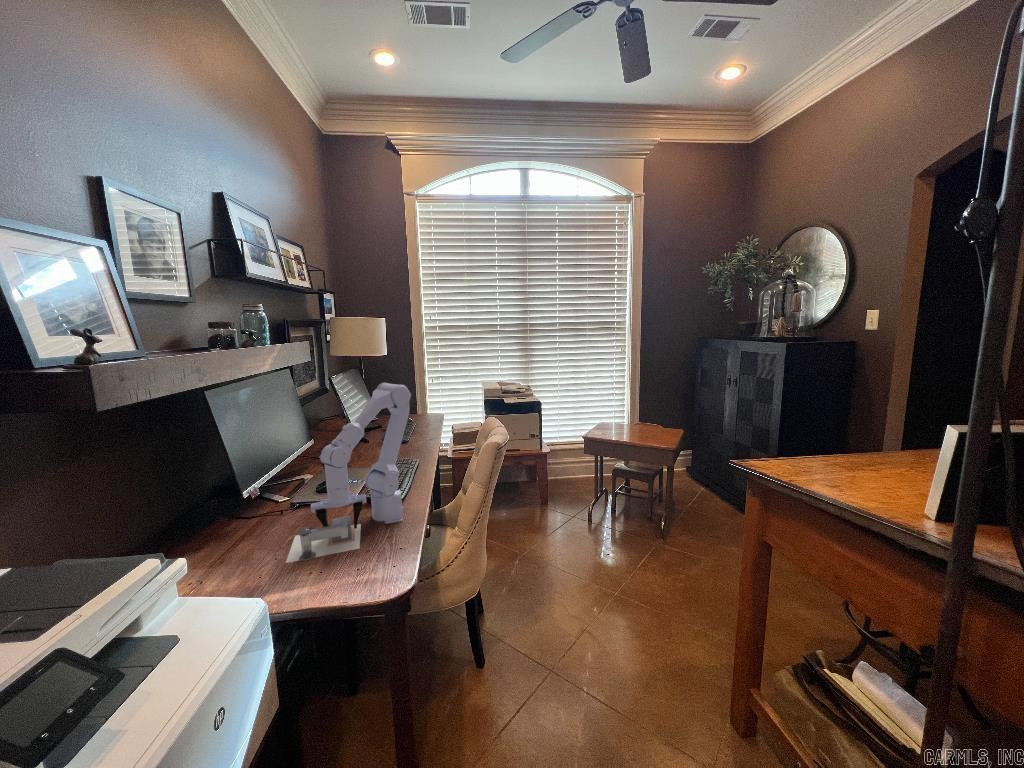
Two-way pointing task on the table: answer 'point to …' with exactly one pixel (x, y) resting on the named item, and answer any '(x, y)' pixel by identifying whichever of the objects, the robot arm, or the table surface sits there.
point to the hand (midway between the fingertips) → (341, 529)
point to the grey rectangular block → (338, 521)
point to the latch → (320, 535)
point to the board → (325, 546)
